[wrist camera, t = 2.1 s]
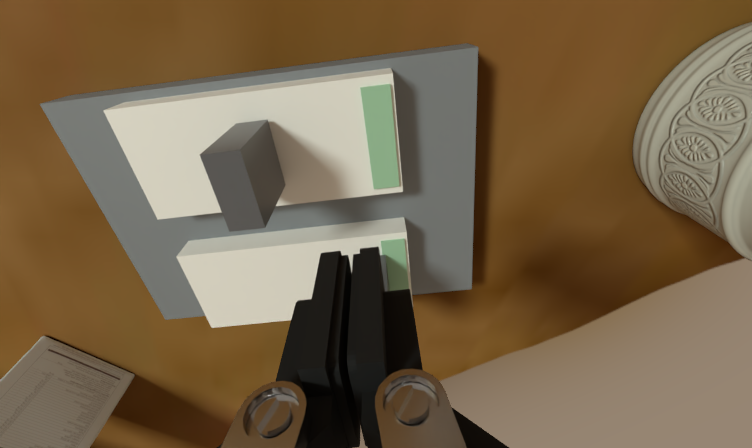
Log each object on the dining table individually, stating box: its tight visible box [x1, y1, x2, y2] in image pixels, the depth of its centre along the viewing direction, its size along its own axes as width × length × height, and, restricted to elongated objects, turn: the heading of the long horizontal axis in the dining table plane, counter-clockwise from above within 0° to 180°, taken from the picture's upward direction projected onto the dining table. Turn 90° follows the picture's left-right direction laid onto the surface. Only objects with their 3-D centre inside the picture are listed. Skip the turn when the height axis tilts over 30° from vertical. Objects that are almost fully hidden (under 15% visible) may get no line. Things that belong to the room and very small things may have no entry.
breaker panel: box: [40, 43, 478, 328], centre depth 26 cm, size 18×26×5 cm
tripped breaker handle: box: [200, 119, 285, 232], centre depth 19 cm, size 4×2×5 cm, turn 7°
